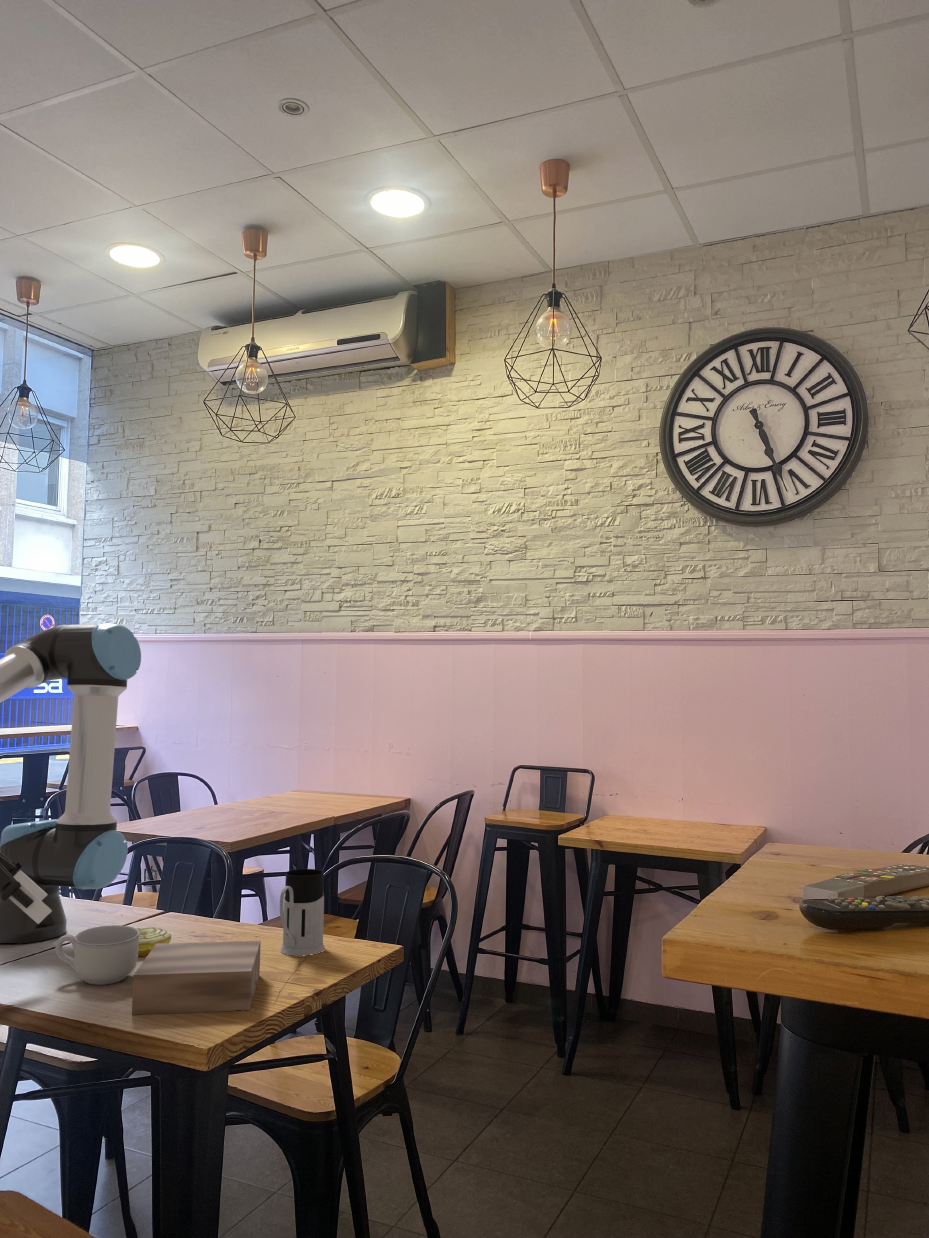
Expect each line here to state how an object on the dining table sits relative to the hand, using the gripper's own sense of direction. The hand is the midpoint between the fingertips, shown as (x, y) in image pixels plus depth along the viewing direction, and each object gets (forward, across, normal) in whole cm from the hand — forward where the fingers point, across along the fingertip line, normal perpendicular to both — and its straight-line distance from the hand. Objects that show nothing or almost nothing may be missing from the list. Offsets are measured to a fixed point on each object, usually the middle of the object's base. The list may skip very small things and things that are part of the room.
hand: (43, 908), depth 150 cm
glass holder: (+41, 0, +23) cm, 47 cm away
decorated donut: (+23, -16, +4) cm, 28 cm away
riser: (+26, +15, +8) cm, 31 cm away
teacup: (+16, -1, -3) cm, 16 cm away
